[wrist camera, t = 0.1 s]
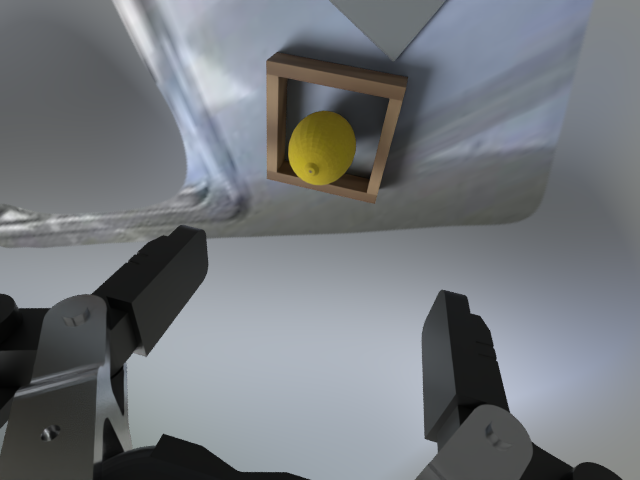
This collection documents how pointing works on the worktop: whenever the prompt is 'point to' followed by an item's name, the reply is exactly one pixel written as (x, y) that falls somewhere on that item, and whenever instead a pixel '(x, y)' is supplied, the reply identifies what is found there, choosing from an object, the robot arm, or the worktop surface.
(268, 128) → the holder
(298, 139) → the lemon
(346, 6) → the mat
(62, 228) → the worktop surface
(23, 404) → the robot arm
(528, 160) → the worktop surface
